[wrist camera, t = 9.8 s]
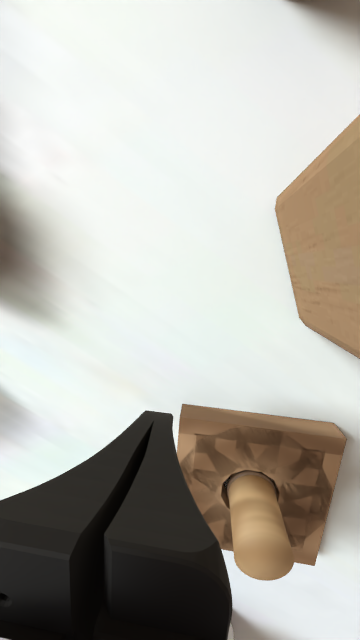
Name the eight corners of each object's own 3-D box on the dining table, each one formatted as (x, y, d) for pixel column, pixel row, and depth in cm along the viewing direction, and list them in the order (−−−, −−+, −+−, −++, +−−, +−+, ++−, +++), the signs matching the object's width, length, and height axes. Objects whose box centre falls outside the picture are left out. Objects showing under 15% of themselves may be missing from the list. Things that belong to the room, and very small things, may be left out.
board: (305, 541, 24) (314, 565, 22) (173, 518, 25) (170, 539, 23) (333, 423, 21) (346, 439, 19) (182, 403, 22) (180, 417, 20)
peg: (268, 491, 23) (293, 584, 16) (225, 488, 24) (232, 578, 17) (270, 454, 22) (297, 536, 16) (225, 452, 23) (232, 531, 16)
